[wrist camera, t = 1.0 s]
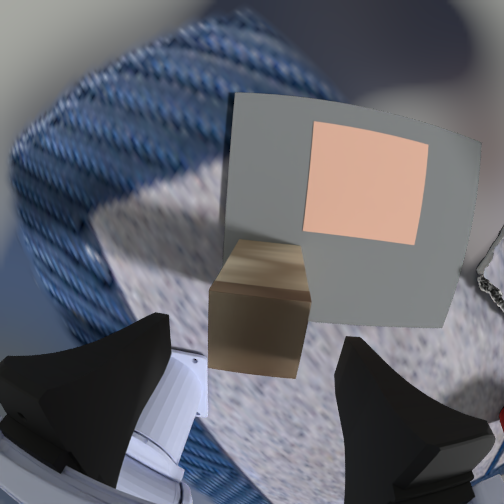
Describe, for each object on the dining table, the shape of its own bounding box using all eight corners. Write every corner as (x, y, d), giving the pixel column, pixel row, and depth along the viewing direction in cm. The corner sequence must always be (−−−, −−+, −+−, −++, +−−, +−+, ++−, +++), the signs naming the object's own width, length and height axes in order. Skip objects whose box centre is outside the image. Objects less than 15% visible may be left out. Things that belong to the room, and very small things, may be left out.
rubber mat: (221, 308, 21) (220, 311, 21) (236, 93, 16) (235, 92, 16) (440, 325, 20) (442, 328, 19) (478, 142, 15) (481, 142, 15)
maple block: (235, 294, 20) (208, 367, 13) (238, 238, 19) (208, 290, 11) (292, 301, 20) (295, 378, 12) (301, 245, 19) (312, 302, 11)
